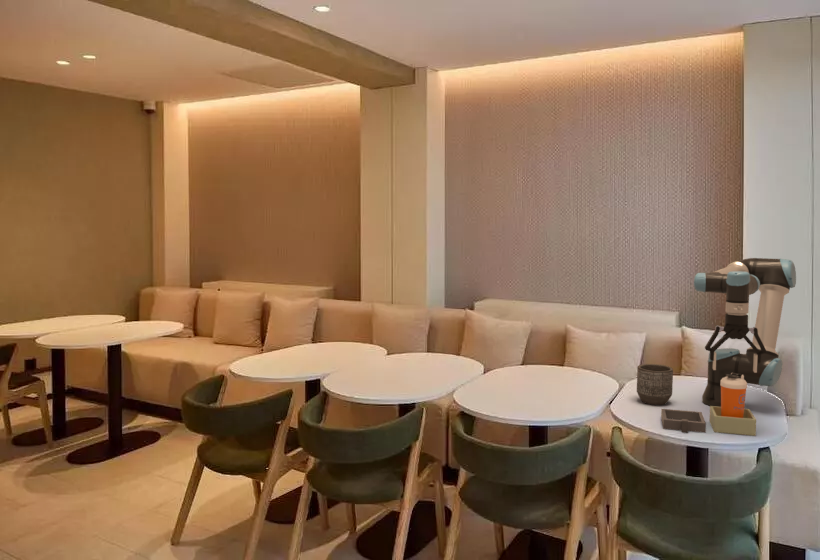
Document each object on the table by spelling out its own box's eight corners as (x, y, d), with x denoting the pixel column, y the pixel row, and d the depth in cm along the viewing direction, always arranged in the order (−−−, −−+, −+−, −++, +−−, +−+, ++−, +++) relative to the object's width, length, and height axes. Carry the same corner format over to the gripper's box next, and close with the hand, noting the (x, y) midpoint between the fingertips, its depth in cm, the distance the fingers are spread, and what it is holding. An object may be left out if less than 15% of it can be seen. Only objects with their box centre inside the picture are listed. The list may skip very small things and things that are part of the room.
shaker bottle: (714, 427, 240) (716, 374, 238) (723, 421, 246) (725, 370, 244) (740, 432, 233) (742, 378, 231) (748, 427, 240) (751, 374, 238)
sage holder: (709, 421, 248) (710, 405, 248) (748, 424, 244) (749, 409, 243) (714, 432, 235) (714, 416, 235) (755, 436, 231) (756, 419, 230)
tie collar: (661, 417, 253) (661, 406, 253) (701, 420, 249) (701, 409, 248) (663, 430, 237) (663, 419, 237) (706, 434, 233) (706, 422, 232)
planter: (672, 399, 278) (674, 365, 276) (671, 408, 265) (672, 372, 263) (638, 395, 284) (639, 362, 282) (634, 404, 271) (635, 369, 269)
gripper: (700, 313, 236) (698, 370, 238) (777, 316, 228) (774, 375, 230) (698, 310, 243) (696, 366, 245) (772, 313, 235) (770, 370, 237)
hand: (734, 370), depth 238 cm, fingers open, 13 cm apart
